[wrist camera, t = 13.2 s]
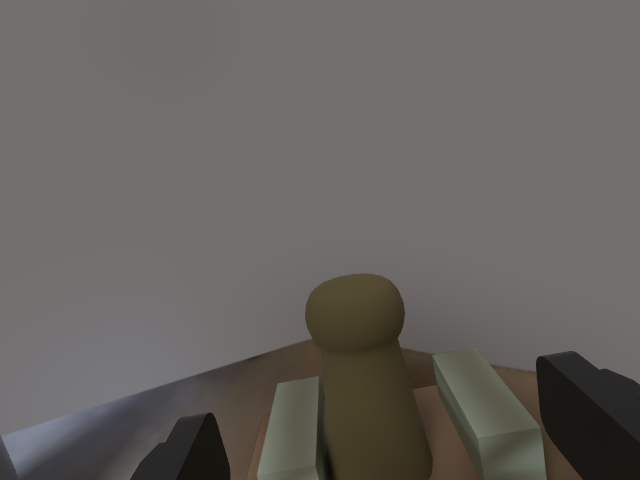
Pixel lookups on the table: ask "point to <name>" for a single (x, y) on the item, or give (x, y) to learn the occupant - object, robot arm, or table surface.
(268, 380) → the table surface
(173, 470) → the robot arm
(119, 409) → the table surface
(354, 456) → the cork
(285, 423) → the endcap cradle
